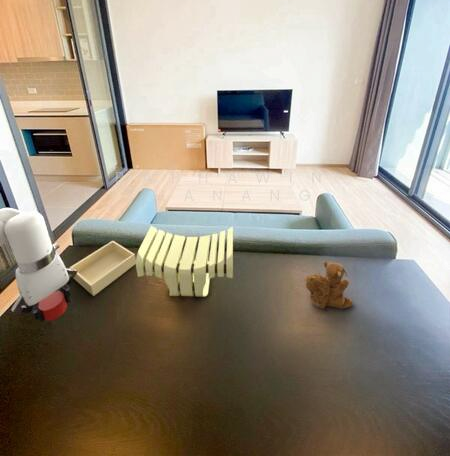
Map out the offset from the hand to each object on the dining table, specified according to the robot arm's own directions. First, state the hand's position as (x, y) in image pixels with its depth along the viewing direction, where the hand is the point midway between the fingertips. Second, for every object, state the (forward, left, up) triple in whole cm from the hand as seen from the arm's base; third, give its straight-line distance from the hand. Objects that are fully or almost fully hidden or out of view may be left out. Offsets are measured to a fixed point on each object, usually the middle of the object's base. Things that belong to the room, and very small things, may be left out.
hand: (53, 308), depth 69 cm
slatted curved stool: (+20, +34, -9) cm, 41 cm away
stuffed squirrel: (+62, +53, -9) cm, 82 cm away
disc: (0, 0, -1) cm, 1 cm away
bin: (-11, +20, -9) cm, 25 cm away
